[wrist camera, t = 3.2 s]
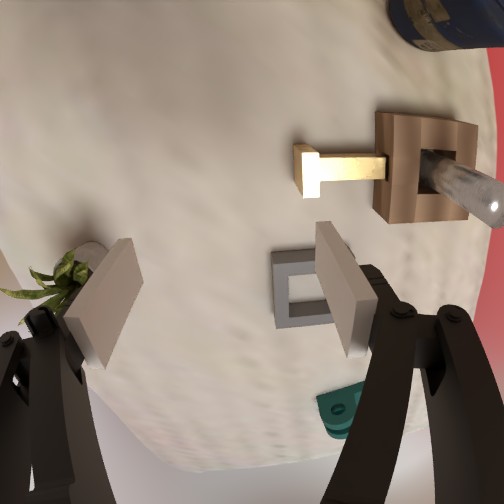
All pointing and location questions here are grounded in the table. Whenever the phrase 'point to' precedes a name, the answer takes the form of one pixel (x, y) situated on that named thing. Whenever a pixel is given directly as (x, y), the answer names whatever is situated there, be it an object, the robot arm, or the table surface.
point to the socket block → (418, 165)
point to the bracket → (339, 409)
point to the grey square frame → (283, 311)
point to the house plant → (65, 276)
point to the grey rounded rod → (464, 187)
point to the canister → (449, 23)
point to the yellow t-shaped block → (332, 168)
